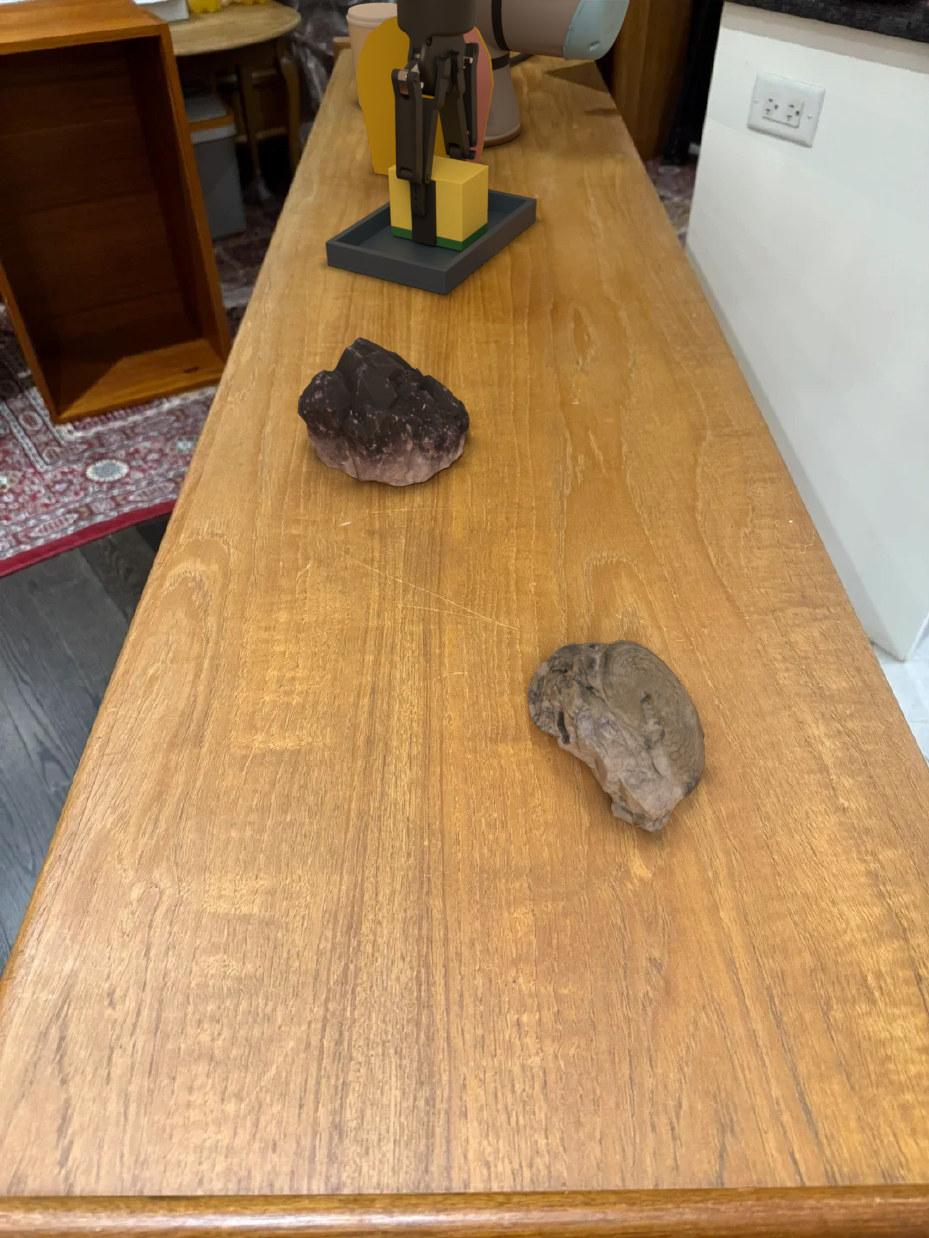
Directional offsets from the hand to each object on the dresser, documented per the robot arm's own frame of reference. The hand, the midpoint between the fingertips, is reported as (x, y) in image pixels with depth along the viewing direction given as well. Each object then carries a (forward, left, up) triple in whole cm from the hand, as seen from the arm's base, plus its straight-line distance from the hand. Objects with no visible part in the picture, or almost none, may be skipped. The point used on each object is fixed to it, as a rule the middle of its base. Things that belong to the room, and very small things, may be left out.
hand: (439, 231), depth 98 cm
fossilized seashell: (+56, +43, -1) cm, 70 cm away
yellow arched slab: (-18, -12, -1) cm, 22 cm away
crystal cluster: (+37, +16, -1) cm, 40 cm away
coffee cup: (-39, -32, -1) cm, 51 cm away
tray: (+1, 0, -1) cm, 1 cm away
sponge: (0, 0, 0) cm, 0 cm away
